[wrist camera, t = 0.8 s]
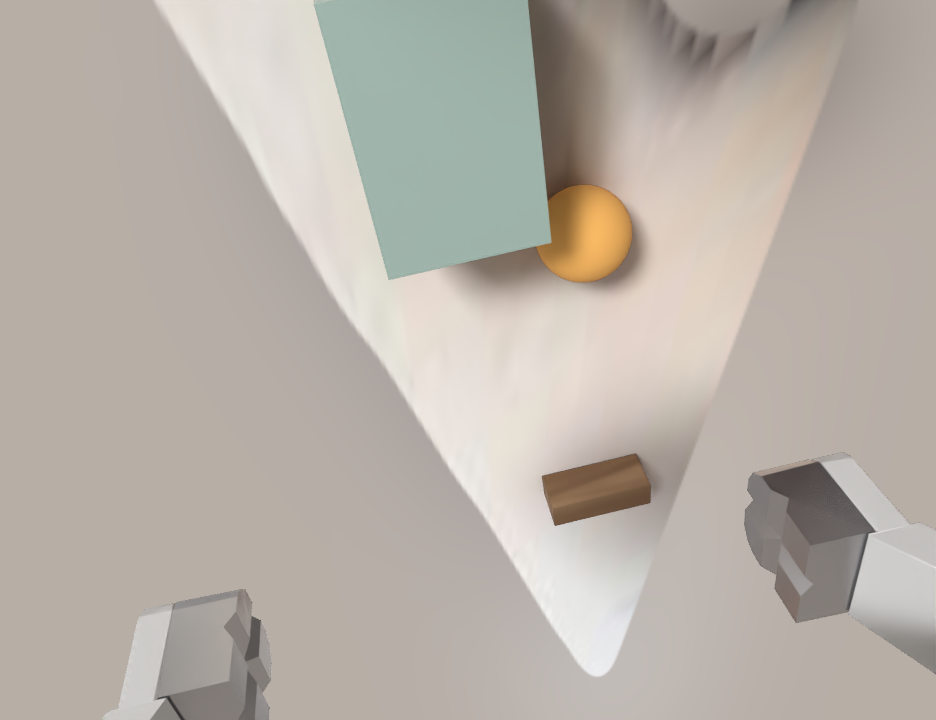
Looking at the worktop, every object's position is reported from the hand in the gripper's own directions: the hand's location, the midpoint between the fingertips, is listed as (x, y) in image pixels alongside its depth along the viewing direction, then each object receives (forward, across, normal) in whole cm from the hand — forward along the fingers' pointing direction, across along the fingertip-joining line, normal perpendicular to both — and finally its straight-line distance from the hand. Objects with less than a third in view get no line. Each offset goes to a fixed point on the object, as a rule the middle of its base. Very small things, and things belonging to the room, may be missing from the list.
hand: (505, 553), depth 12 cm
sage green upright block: (+29, -2, 0) cm, 29 cm away
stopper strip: (+31, -10, +31) cm, 45 cm away
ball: (+27, -9, +9) cm, 30 cm away
